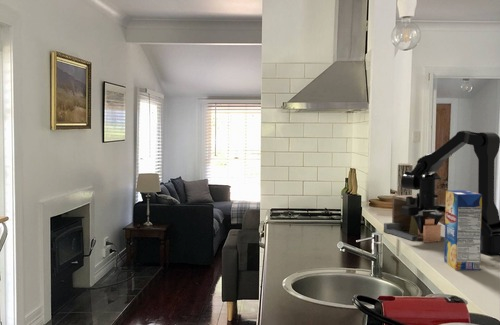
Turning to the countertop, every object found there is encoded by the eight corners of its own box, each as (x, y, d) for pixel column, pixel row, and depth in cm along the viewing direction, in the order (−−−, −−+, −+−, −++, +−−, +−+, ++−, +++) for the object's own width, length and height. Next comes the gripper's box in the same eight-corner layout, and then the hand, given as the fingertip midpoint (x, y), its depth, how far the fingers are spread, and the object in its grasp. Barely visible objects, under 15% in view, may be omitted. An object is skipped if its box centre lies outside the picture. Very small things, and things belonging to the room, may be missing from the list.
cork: (425, 234, 210) (426, 206, 210) (409, 234, 212) (410, 206, 211) (424, 231, 216) (424, 204, 216) (408, 231, 218) (408, 204, 217)
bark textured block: (393, 215, 259) (394, 163, 258) (404, 214, 262) (405, 163, 261) (403, 217, 253) (404, 164, 252) (414, 216, 256) (415, 164, 255)
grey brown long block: (440, 241, 198) (440, 219, 197) (418, 242, 195) (419, 220, 194) (403, 230, 219) (404, 210, 219) (383, 231, 216) (384, 211, 216)
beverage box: (455, 270, 156) (457, 194, 155) (444, 261, 167) (445, 190, 166) (480, 270, 155) (482, 194, 154) (466, 261, 166) (468, 190, 165)
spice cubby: (437, 234, 211) (437, 198, 210) (410, 235, 208) (411, 199, 207) (417, 228, 224) (417, 194, 223) (392, 229, 221) (392, 195, 220)
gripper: (435, 188, 210) (434, 228, 210) (393, 189, 204) (392, 230, 205) (454, 191, 199) (453, 233, 200) (409, 192, 194) (408, 235, 195)
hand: (426, 233), depth 200 cm, fingers closed on grey brown long block, 4 cm apart
